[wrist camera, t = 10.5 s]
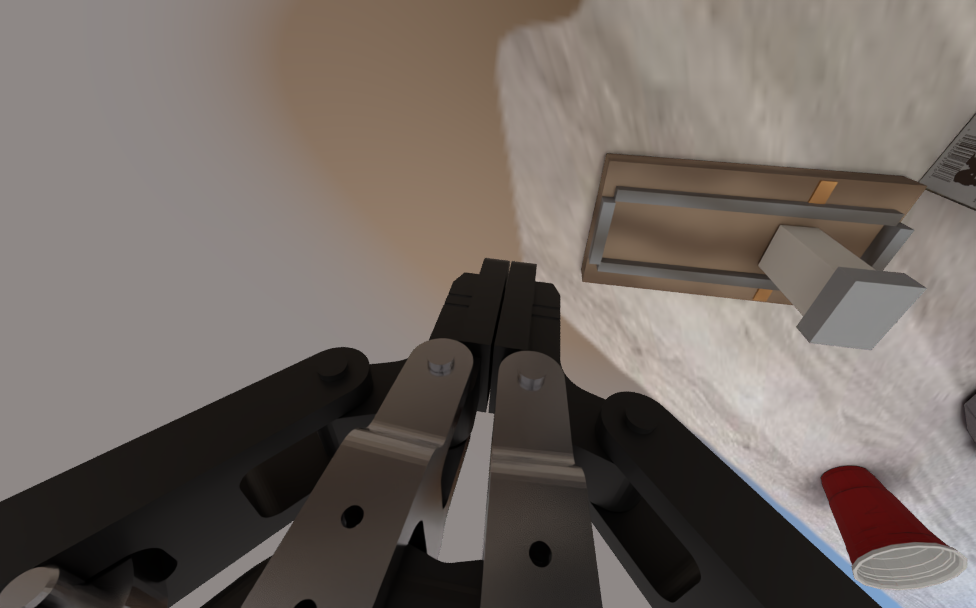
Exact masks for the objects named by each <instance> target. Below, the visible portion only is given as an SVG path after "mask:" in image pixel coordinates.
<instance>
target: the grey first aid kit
mask: <svg viewBox="0 0 976 608" xmlns="http://www.w3.org/2000/svg"><path fill="white" fill-rule="evenodd" d="M964 407H965V415H966V423H967V430H968V431H969V433H970V435H971V436H972V438H973V439H974V441H975V442H976V394H975V395H974V396H973V397H972V398H971V399H970V400H969V401H967V402H966V403H965V404H964Z"/></svg>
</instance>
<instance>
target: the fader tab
mask: <svg viewBox="0 0 976 608" xmlns="http://www.w3.org/2000/svg"><path fill="white" fill-rule="evenodd" d="M758 266H759V267H760V268H761V269H762V270H763V271H764V273H765V274H766V275H767V276H768V277H769V278H770V279H771V281H772V282H773V283H774V284H775V285H776V286H777V287H778V288H779V290H780V291H781V292H782V293H783V294H784V295H785V296H786V297H787V299H788V300H789V301H790V302H791V303H792V304H793V305H794V306H795V308H796V309H797V310H798V311H799V312H800V313H801V314H802V315H803V318H802V319H801V321H800V322H799V324H798V325H797V326H796V327H797V328H798V330H799V331H800V332H801V333H802V334H803V336H804V337H805V338H806V339H807V341H808V342H809V343H814V344H822V345H831V346H839V347H847V348H856V349H864V350H872V349H873V348H874V347H875V346H876V344H877V343H878V342H879V341H880V340H881V339H882V338H883V337H884V336H885V334H886V333H887V332H888V331H889V330H890V329H891V328H892V327H893V325H894V324H895V323H896V322H897V321H898V320H899V319H900V318H901V317H902V315H903V314H904V313H905V312H906V311H907V310H908V309H909V308H910V307H911V305H912V304H913V303H914V302H915V301H916V300H917V299H918V298H919V297H920V295H921V294H922V293H923V292H924V291H925V290H926V289H927V288H925V287H924V286H923V285H921V284H920V283H918V282H917V281H915V280H914V279H912V278H911V277H909V276H908V275H906V274H905V273H896V272H886V271H876V270H875V269H874V268H872V267H871V266H870V265H868V264H867V263H865V262H864V261H863V260H861V259H860V258H859V257H857V256H856V255H854V254H853V253H852V252H850V251H849V250H848V249H846V248H845V247H843V246H842V245H841V244H839V243H838V242H837V241H835V240H834V239H832V238H831V237H830V236H828V235H827V234H826V233H824V232H823V231H821V230H820V229H819V228H811V227H800V226H789V225H780V226H779V228H778V230H777V232H776V234H775V235H774V237H773V239H772V241H771V243H770V245H769V246H768V248H767V250H766V252H765V254H764V256H763V257H762V259H761V261H760V263H759V265H758Z"/></svg>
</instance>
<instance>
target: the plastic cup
mask: <svg viewBox="0 0 976 608" xmlns="http://www.w3.org/2000/svg"><path fill="white" fill-rule="evenodd" d="M821 480H822V485H823V488H824V491H825V493H826V496H827V498H828V501H829V505H830V508H831V510H832V513H833V515H834V518H835V520H836V523H837V525H838V528H839V530H840V533H841V535H842V538H843V540H844V543H845V545H846V550H847V552H848V554H849V557H850V561H851V563H852V571H853V575H854V578H855V579H856V580H858V581H859V582H861V583H862V584H864V585H866V586H870V587H874V588H878V589H888V590H907V589H919V588H924V587H929V586H933V585H937V584H941V583H944V582H946V581H948V580H950V579H953V578H955V577H957V576H958V575H960V574H961V573H962V572H963V571H964V570H965V569H966V568H967V558H966V557H965V556H963V555H962V554H961V553H960V552H958V551H957V550H956V549H954V548H952V547H950V546H948V545H946V544H945V543H944V542H943V541H941V540H940V539H939V538H938V537H936V536H935V535H934V534H933V533H932V532H931V531H929V530H928V529H927V528H926V527H925V526H924V525H923V524H922V523H921V522H920V521H919V520H918V519H917V518H916V517H915V516H914V515H913V514H912V513H911V512H910V511H909V510H908V509H907V508H906V507H905V506H904V505H903V504H902V503H901V502H900V501H899V500H898V499H897V498H896V497H895V496H894V495H893V494H892V493H891V492H890V491H888V490H887V489H886V488H885V487H884V486H883V485H882V483H881V482H880V481H879V480H878V479H877V478H876V477H875V476H874V475H872V474H871V473H870V472H869V471H868V470H866V469H865V468H862V467H858V466H843V467H837V468H834V469H831V470H829V471H827V472H826V473H824V474H823V475H822V477H821Z"/></svg>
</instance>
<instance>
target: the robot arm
mask: <svg viewBox="0 0 976 608" xmlns="http://www.w3.org/2000/svg"><path fill="white" fill-rule="evenodd" d="M509 267H510V261H506V260H498V259H490V258H485V259H484V261H483V264H482V268H481V271H480V274H473V273H463V274H462V275H461V276H460V277H458V278H457V279H456V280H455V281H454V282H453V284H452V286H451V289H450V291H449V295H448V296H447V298H446V301H445V305H443V308H442V310H441V313H440V315H439V317H438V320H437V322H436V325H435V327H434V329H433V332H432V334H431V336H430V339H429V341H426V342H424V343H422V344H420V345H419V346H417V347H416V348H415V349H414V350H413V351H412V353H411V354H410V356H409V358H407V359H405V360H401V361H396V362H388V363H378V364H369V361H368V358H367V357H366V356H365V355H364V354H363V353H362V352H360V351H359V350H356V349H353V348H348V347H338V348H332V349H328V350H325V351H322V352H320V353H318V354H315V355H313V356H312V357H309V358H307V359H305V360H303V361H300V362H298V363H296V364H294V365H292V366H290V367H288V368H286V369H283V370H282V371H279V372H277V373H275V374H273V375H271V376H269V377H266V378H264V379H262V380H260V381H258V382H256V383H254V384H251V385H249V386H247V387H245V388H243V389H241V390H239V391H236V392H234V393H232V394H230V395H228V396H226V397H223V398H222V399H219V400H217V401H215V402H213V403H211V404H209V405H206V406H204V407H202V408H200V409H198V410H196V411H194V412H191V413H189V414H187V415H185V416H183V417H181V418H179V419H177V420H174V421H172V422H170V423H168V424H166V425H164V426H161V427H159V428H157V429H155V430H153V431H151V432H149V433H147V434H144V435H142V436H140V437H138V438H136V439H134V440H131V441H129V442H127V443H125V444H123V445H121V446H119V447H117V448H114V449H112V450H110V451H108V452H106V453H104V454H102V455H100V456H97V457H95V458H93V459H91V460H89V461H87V462H85V463H82V464H80V465H78V466H76V467H74V468H72V469H69V470H68V471H65V472H63V473H61V474H59V475H57V476H55V477H53V478H50V479H48V480H46V481H44V482H42V483H40V484H37V485H35V486H33V487H31V488H29V489H27V490H25V491H23V492H20V493H18V494H16V495H14V496H12V497H10V498H8V499H5V500H3V501H1V502H0V608H169V607H171V606H172V605H173V604H175V603H176V602H178V601H179V600H180V599H182V598H183V597H185V596H186V595H188V594H189V593H191V592H192V591H193V590H195V589H196V588H198V587H199V586H201V585H202V584H203V583H205V582H206V581H208V580H209V579H211V578H212V577H214V576H215V575H216V574H218V573H219V572H221V571H222V570H224V569H225V568H226V567H228V566H229V565H231V564H232V563H234V562H235V561H236V560H238V559H239V558H241V557H242V556H243V555H245V554H246V553H248V552H249V551H251V550H252V549H254V548H255V547H256V546H258V545H259V544H261V543H262V542H263V541H265V540H266V539H268V538H269V537H271V536H272V535H273V534H275V533H276V532H278V531H279V530H281V529H282V528H284V527H285V526H286V525H288V524H289V523H291V522H292V521H294V522H293V523H292V525H291V527H290V528H289V530H288V531H287V533H286V535H285V536H284V538H283V539H282V541H281V543H280V544H279V546H278V548H277V549H276V551H275V552H274V554H273V555H272V556H271V557H269V558H267V559H266V560H264V561H262V562H261V563H259V564H257V565H256V566H254V567H253V568H252V569H250V570H249V571H247V572H246V573H245V574H243V575H242V576H241V577H239V578H238V579H237V580H235V581H234V582H233V583H232V584H230V585H229V586H228V587H226V588H225V589H224V590H222V591H221V592H220V593H218V594H217V595H216V596H214V597H213V598H212V599H211V600H209V601H208V602H207V603H205V604H204V605H203V606H202V607H200V608H603V607H602V600H601V592H600V585H599V577H598V569H597V562H596V554H595V546H594V539H593V531H592V523H593V525H594V526H595V527H596V529H597V530H598V532H599V533H600V535H601V536H602V537H603V539H604V540H605V542H606V543H607V544H608V546H609V547H610V549H611V550H612V551H613V553H614V554H615V556H616V557H617V559H618V560H619V561H620V563H621V564H622V566H623V567H624V568H625V569H626V571H627V573H628V574H629V576H630V577H631V578H632V580H633V581H634V583H635V584H636V585H637V587H638V588H639V590H640V591H641V592H642V594H643V595H644V597H645V598H646V600H647V601H648V602H649V604H650V605H651V607H652V608H882V607H881V606H879V604H877V602H875V601H874V600H873V599H872V598H871V597H870V596H869V595H868V594H867V593H866V592H865V591H863V590H862V589H861V588H860V587H859V586H858V585H857V584H856V583H855V582H853V580H851V579H850V578H849V577H848V576H847V575H846V574H845V573H844V572H843V571H842V570H841V569H839V568H838V567H837V566H836V565H835V564H834V563H833V562H832V561H831V560H830V559H828V557H826V556H825V555H824V554H823V553H822V552H821V551H820V550H819V549H818V548H817V547H816V546H814V545H813V544H812V543H811V542H810V541H809V540H808V539H807V538H806V537H805V536H803V535H802V534H801V533H800V532H799V531H798V530H797V529H796V528H795V527H794V526H793V525H792V524H791V523H789V522H788V521H787V520H786V519H785V518H784V517H783V516H782V515H781V514H780V513H778V512H777V511H776V510H775V509H774V508H773V507H772V506H771V505H770V504H769V503H768V502H767V501H765V500H764V499H763V498H762V497H761V496H760V495H759V494H758V493H757V492H756V491H754V490H753V489H752V488H751V487H750V486H749V485H748V484H747V483H746V482H745V481H744V480H743V479H741V478H740V477H739V476H738V475H737V474H736V473H735V472H734V471H733V470H732V469H730V467H728V466H727V465H726V464H725V463H724V462H723V461H722V460H721V459H720V458H719V457H718V456H716V455H715V454H714V453H713V452H712V451H711V450H710V449H709V448H708V447H707V446H705V445H704V444H703V443H702V442H701V441H700V440H699V439H698V438H697V437H696V436H695V435H694V434H693V433H691V432H690V431H689V430H688V429H687V428H686V427H685V426H684V425H683V424H682V423H681V422H679V421H678V420H677V419H676V418H675V417H674V416H673V415H672V414H671V413H670V412H669V411H667V410H666V409H665V408H664V407H663V406H662V405H661V404H659V403H658V402H657V401H655V400H653V399H652V398H650V397H648V396H645V395H642V394H639V393H635V392H619V393H615V394H613V395H611V396H609V397H608V398H607V399H606V400H605V399H603V398H601V397H598V396H596V395H594V394H591V393H589V392H587V391H585V390H583V389H581V388H579V387H578V386H576V385H575V384H573V382H571V381H570V380H569V378H568V377H567V376H566V375H565V373H564V372H563V369H562V367H561V363H560V294H559V292H558V291H557V289H556V288H555V286H554V285H553V284H552V283H544V282H536V281H535V277H536V267H537V264H531V263H523V262H515V261H512V263H511V267H510V272H509ZM490 389H491V390H490ZM489 394H490V402H489V413H494V422H493V432H492V443H491V454H490V467H489V478H488V490H487V491H488V492H487V503H486V515H485V526H484V538H483V549H482V560H475V561H465V562H456V563H444V562H441V561H438V560H437V559H438V556H439V552H440V548H441V544H442V539H443V533H444V527H445V522H446V517H447V514H448V510H449V507H450V504H451V500H452V497H453V494H454V490H455V487H456V484H457V481H458V477H459V474H460V471H461V468H462V464H463V461H464V458H465V454H466V451H467V448H468V445H469V442H470V437H471V432H472V429H473V426H474V421H475V416H476V412H477V411H480V412H486V409H487V404H488V399H489ZM591 522H592V523H591Z"/></svg>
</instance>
